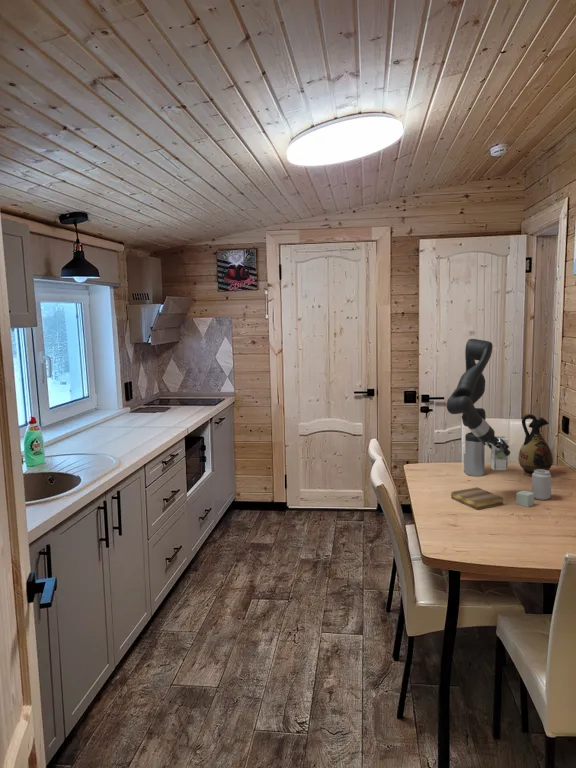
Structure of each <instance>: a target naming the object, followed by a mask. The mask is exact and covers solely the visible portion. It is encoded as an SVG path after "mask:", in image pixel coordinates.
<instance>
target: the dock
mask: <svg viewBox="0 0 576 768" xmlns="http://www.w3.org/2000/svg"><path fill="white" fill-rule="evenodd" d="M450 496H451V499H452V500H454V501H456V502H458V503H461V504H463V505H465V506H467V507H470V508H472V509H474V510H476V511H477V510H478V511H479V510H481V509H482V510H483V509H487V508H493V507H496V506H501V505H502V506H503V505H504V496H500V495H498V494H496V493H493V492H490V491H488V490H485V489H483V488H481V487H478V486H477V487H471V488H466V489H461V490H454V491H451V492H450Z"/></svg>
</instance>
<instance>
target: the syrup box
mask: <svg viewBox="0 0 576 768" xmlns="http://www.w3.org/2000/svg"><path fill="white" fill-rule="evenodd" d="M495 436H496V437H497V438H498V439H499V440H500V438H501V439H503V441H504V442H505V443H506V444H507V445H508V446H509V439H508V438H507V436H505V435H502V436H500V435H499V436H497V435H495ZM496 446H498V444H497V445H496ZM508 457H509V456H506V455H505V454H504V452H503V451H502V450H500V449H499V448H498V449H497V448H496V447H494V446H493V445H491V449H490V468H491V470H493V471H494V472H508V465H509V464H508V459H509V458H508Z"/></svg>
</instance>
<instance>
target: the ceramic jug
mask: <svg viewBox="0 0 576 768" xmlns="http://www.w3.org/2000/svg"><path fill="white" fill-rule="evenodd" d="M529 419H531V420H532V421H531V422H530V423H529V424H528V428H531V432H529V430H528V428H527V424H526V421H527V420H529ZM521 425H522V428H523V431H524V434H525V437H524V442H523V443H522V445H521V446H520V449H519V452H518V458H517V459H518V464H519V466H520V468H522V470H523V471H524V475H527V476H530V477H532V474H533V473H534V470H537V469H543V470H548V471H549V470H550V469H551V467H552V466H553V464H554V463H553V460H554V458H553V453H552V450H551V447H550V445H549V444H548V443H547V441H546V440H545V438H544V437H543V435H542V434H541V431H540V429H541V428H542V427H544V426H547V425H549V422H548V421H547V419H545V418H543V417H539V418H538V419H537V417H536V416H535V415H534V414H533V413H532V414H531V413H527V414H524V415H523V417H522V418H521Z"/></svg>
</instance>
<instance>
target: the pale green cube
mask: <svg viewBox="0 0 576 768" xmlns="http://www.w3.org/2000/svg"><path fill="white" fill-rule="evenodd" d="M515 495H516V499H515V501H516V505H517V506H518V505H519V506H522V507H525V508H529V507H531V506H533V505H535V498H534V493H532V491H527V490H524V489H523V490H521V491H517V492H516V494H515Z"/></svg>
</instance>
